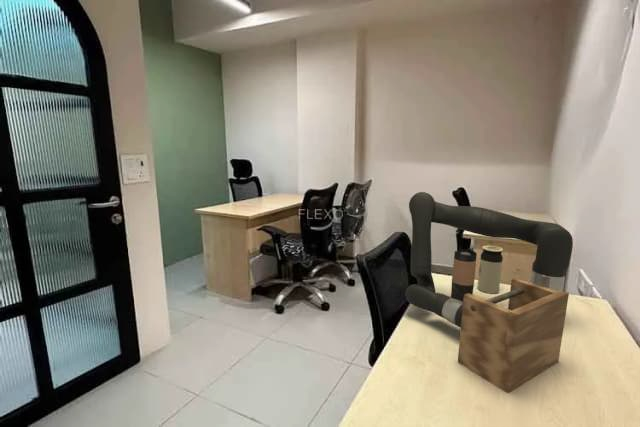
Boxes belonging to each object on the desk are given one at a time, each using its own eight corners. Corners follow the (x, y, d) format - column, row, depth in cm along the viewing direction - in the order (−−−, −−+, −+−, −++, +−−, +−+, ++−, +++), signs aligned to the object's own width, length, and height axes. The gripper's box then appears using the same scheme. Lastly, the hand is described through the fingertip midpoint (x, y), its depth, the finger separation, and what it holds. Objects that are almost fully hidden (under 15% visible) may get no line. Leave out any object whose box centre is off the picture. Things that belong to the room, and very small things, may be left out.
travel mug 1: (474, 309, 124) (479, 256, 121) (451, 306, 126) (456, 254, 122) (469, 300, 132) (474, 250, 128) (448, 298, 133) (452, 248, 130)
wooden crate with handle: (457, 362, 93) (464, 292, 89) (508, 337, 105) (515, 276, 102) (508, 393, 81) (518, 315, 78) (558, 361, 94) (568, 293, 90)
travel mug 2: (501, 289, 142) (505, 247, 139) (495, 295, 136) (500, 252, 133) (480, 284, 147) (485, 244, 144) (474, 290, 141) (479, 248, 138)
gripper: (447, 308, 100) (501, 334, 87) (477, 297, 108) (531, 320, 94) (445, 332, 102) (498, 361, 88) (475, 320, 109) (528, 345, 95)
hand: (515, 339), depth 91 cm, fingers open, 7 cm apart
